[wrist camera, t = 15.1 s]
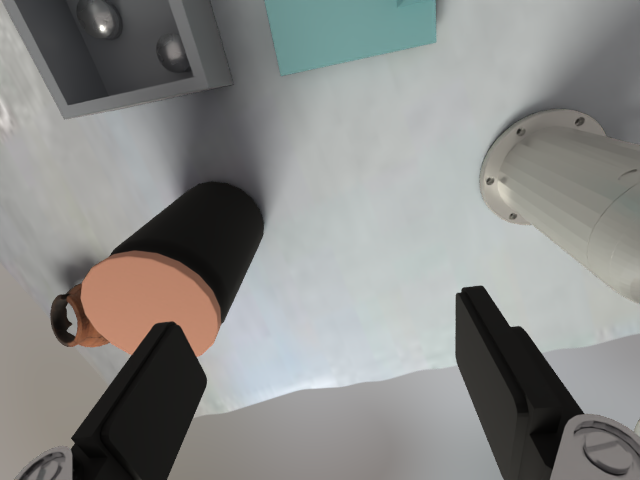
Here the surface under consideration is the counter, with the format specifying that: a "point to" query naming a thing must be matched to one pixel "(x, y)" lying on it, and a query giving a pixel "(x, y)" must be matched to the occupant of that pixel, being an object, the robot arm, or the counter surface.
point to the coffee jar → (177, 269)
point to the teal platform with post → (346, 30)
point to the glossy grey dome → (99, 18)
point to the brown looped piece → (60, 323)
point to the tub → (119, 53)
